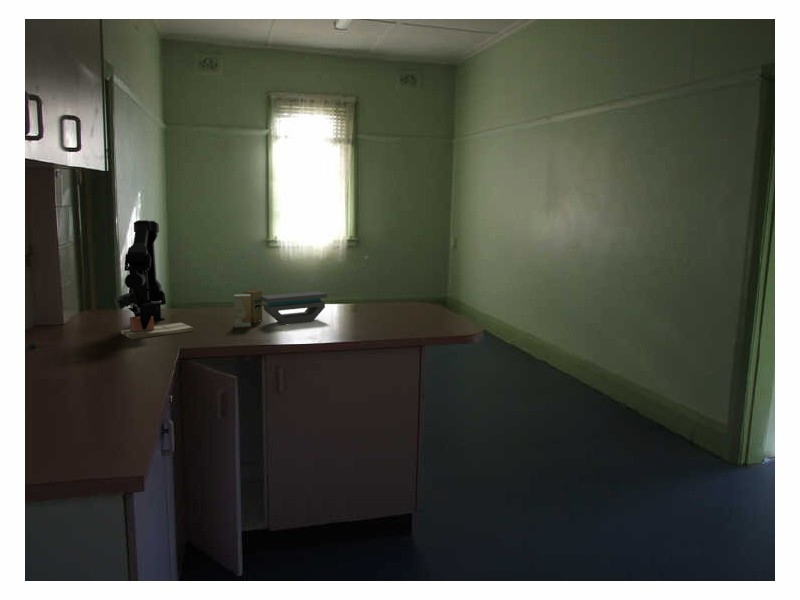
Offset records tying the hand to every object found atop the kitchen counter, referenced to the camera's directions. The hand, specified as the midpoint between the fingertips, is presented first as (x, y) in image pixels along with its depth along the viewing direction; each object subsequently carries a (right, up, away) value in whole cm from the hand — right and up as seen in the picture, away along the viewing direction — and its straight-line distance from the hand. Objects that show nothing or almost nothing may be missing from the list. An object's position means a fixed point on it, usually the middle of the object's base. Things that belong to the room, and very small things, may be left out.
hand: (142, 328), depth 220 cm
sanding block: (0, -1, 0) cm, 1 cm away
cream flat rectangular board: (+4, -2, +4) cm, 6 cm away
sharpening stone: (+51, +1, +24) cm, 56 cm away
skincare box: (+33, 0, +15) cm, 36 cm away
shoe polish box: (+34, +2, +25) cm, 42 cm away
